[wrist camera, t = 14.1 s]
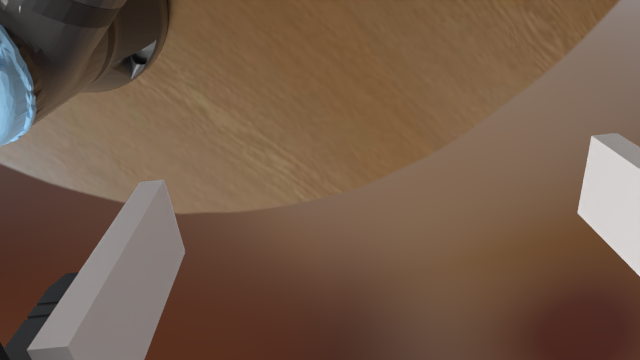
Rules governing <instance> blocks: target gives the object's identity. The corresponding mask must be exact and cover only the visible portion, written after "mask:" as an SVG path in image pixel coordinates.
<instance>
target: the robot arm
mask: <svg viewBox="0 0 640 360" xmlns="http://www.w3.org/2000/svg"><path fill="white" fill-rule="evenodd" d="M167 28H168V7H167V0H0V146H2V145H4V144H8V143H10V142H12V141H16V140H18V139H19V138H20V137H21V136H22V135H23V134H25V133H26V132H27V131H28V130H29V129H30V127H31V126H32V125H34V124H35V123H37V122H38V121H39V120H41V119H42V118H44V117H45V116H47V115H48V114H49V113H51V112H52V111H54V110H55V109H56V108H58V107H59V106H61V105H62V104H64V103H65V102H66V101H68V100H69V99H71V98H72V97H74V96H75V95H76V94H78V93H79V92H104V91H109V90H113V89H116V88H119V87H121V86H124V85H126V84H128V83H130V82H131V81H133V80H134V79H136V78H137V77H138V76H139V75H141V74H142V73H143V72H144V71H145V70H147V69H148V68H149V67H150V66H151V64H152V63H153V62H154V61H155V59H156V58H157V56H158V55H159V53H160V51H161V49H162V47H163V44H164V41H165V38H166V34H167ZM578 214H579V215H580V216H581V217H582V218H583V219H584V220H585V221H586V222H587V223H588V224H589V225H590V226H591V227H592V228H593V229H594V230H595V231H596V232H597V233H598V234H599V235H600V236H601V237H602V238H603V239H604V240H605V241H606V242H607V243H608V244H609V245H610V246H611V247H612V248H613V249H614V250H615V251H616V252H617V253H618V254H619V255H620V257H621V258H622V259H623V260H624V261H625V262H626V263H627V264H628V265H629V266H630V267H631V268H632V269H633V270H634V271H635V272H636V273H637V274H638V275H639V276H640V147H638V146H637V145H635V144H633V143H632V142H630V141H629V140H627V139H626V138H624V137H622V136H621V135H619V134H618V133H614V134H605V135H595V136H592V137H591V142H590V148H589V154H588V159H587V164H586V170H585V175H584V181H583V186H582V191H581V197H580V202H579V208H578ZM184 253H185V250H184V247H183V243H182V239H181V236H180V232H179V229H178V225H177V222H176V218H175V215H174V211H173V208H172V204H171V201H170V197H169V194H168V190H167V187H166V183H165V180H154V181H144V182H140V183H139V184H138V186H137V187H136V189H135V190H134V192H133V193H132V194H131V196H130V197H129V199H128V200H127V202H126V203H125V205H124V206H123V208H122V209H121V211H120V212H119V214H118V215H117V217H116V218H115V220H114V221H113V223H112V224H111V226H110V227H109V229H108V230H107V232H106V233H105V235H104V236H103V238H102V239H101V241H100V242H99V243H98V245H97V247H96V248H95V249H94V251H93V252H92V254H91V255H90V257H89V258H88V260H87V261H86V263H85V264H84V266H83V267H82V269H81V270H80V272H77V273H68V274H65V275H64V276H63V277H61V278H60V279H59V280H58V281H56V282H55V283H54V284H53V285H51V286H50V287H49V288H48V289H47V290H46V292H45V293H44V295H43V296H42V297H41V299H40V300H39V301H38V303H37V306H36V307H34V308H33V310H32V311H31V312H30V314H29V315H28V316H27V317H28V319H27V320H24V322H23V323H22V325H21V326H20V327H19V329H18V330H17V331H16V333H15V334H14V335H13V337H12V338H11V340H10V341H9V342H8V344H7V345H6V346H5V348H3V346H2V345H1V343H0V360H144V358H145V356H146V353H147V350H148V348H149V345H150V342H151V340H152V337H153V335H154V332H155V329H156V327H157V324H158V321H159V319H160V316H161V314H162V311H163V308H164V306H165V303H166V300H167V298H168V295H169V293H170V290H171V287H172V285H173V282H174V279H175V277H176V274H177V272H178V269H179V266H180V264H181V261H182V258H183V256H184Z"/></svg>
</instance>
